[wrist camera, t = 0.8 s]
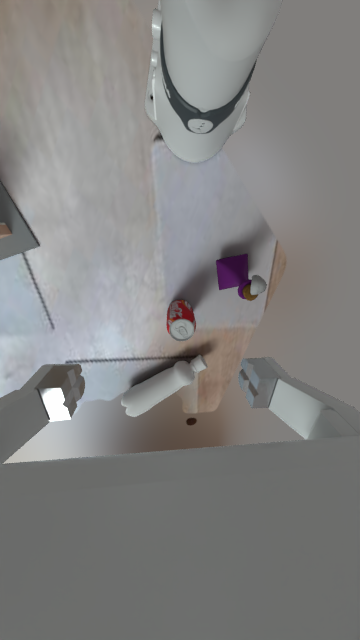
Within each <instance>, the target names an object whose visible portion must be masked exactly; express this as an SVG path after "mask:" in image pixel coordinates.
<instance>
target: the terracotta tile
mask: <svg viewBox="0 0 360 640" xmlns="http://www.w3.org/2000/svg"><path fill="white" fill-rule="evenodd" d="M9 235H12V233H11V232H10V230H9V229H8V227H7V225H6V224H5V223H0V239H1V238H4V237H7V236H9Z"/></svg>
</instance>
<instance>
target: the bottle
mask: <svg viewBox="0 0 360 640" xmlns="http://www.w3.org/2000/svg"><path fill="white" fill-rule="evenodd" d="M206 368H207V364H206V362H205V360H204V359H203V357H202V356H201V355H198V356H197V357H196V358H194V359H193V360H191V362H190V364H188V363H187V362H186V361H178V362H177V363H175V365H174V367H171V368H168V369H166V370H164V371H162V372H160V373H158V374H157V375H155V376H153V377H151V378H149V379H147V380H145V381H144V382H142V383H140V384H137V385H135V386H133V387H132V388H130V389H129V390H128V391H126V392H125V393H124V394H123V397H122V400H121V404H122V405H123V406H125V407H127V409H126V414H128V415H129V416H133V417H136V416H138V415H140V414H142V413H144V412H146V411H147V410H149V409H150V408H151V407H153V406H154V405H156V404H157V403H159V402H160V401H162V400H163V399H165V398H166V397H168V396H170V395H171V394H173V393H174V392H176V391H178V390H179V389H180V388H181V387H182V386H183V385H189V384H191V383H192V381H193V380H194V378H195V376H194V372H198V373H199V371H201V370H203V369H206Z"/></svg>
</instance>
